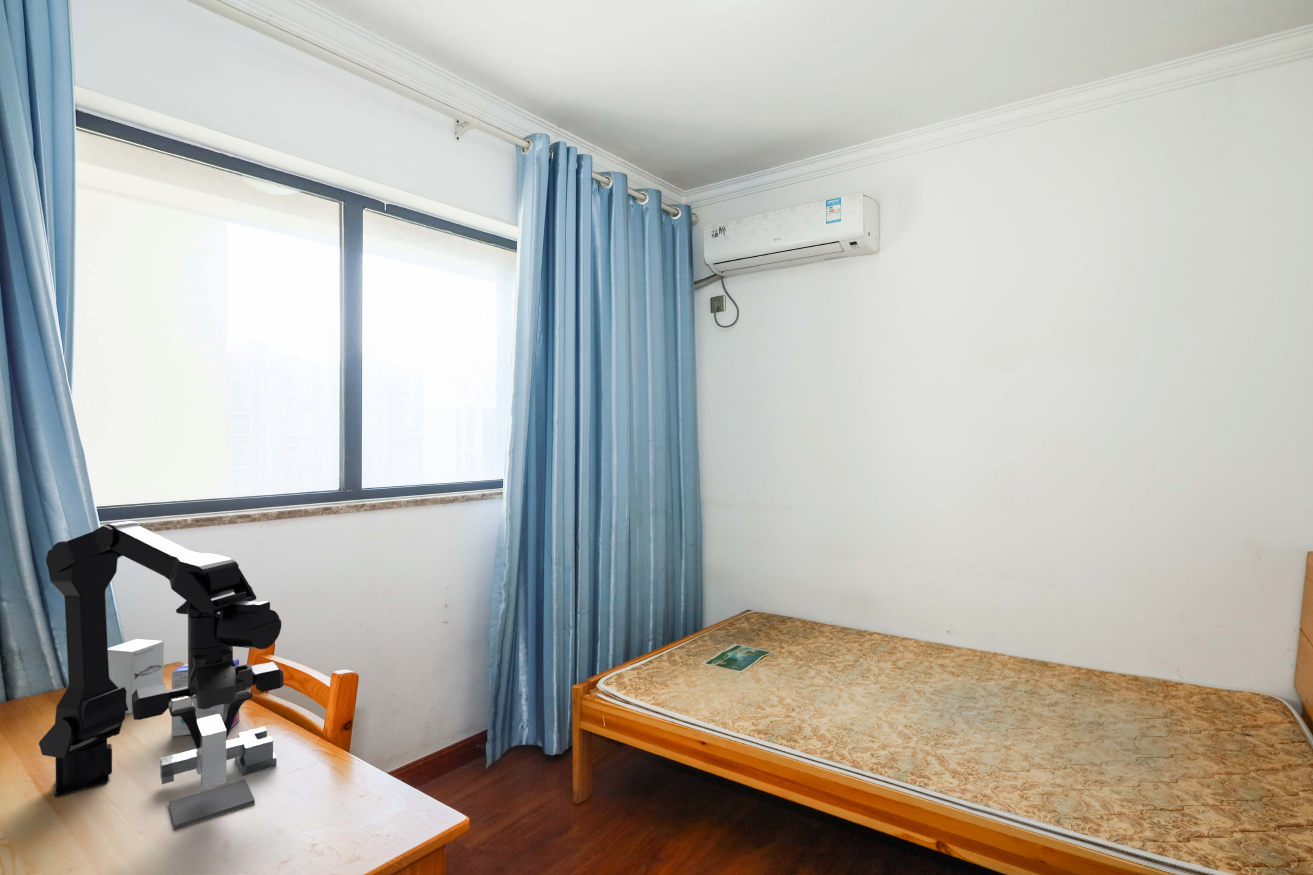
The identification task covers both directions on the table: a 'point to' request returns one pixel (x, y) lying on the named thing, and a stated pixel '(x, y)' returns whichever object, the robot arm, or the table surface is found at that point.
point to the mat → (210, 803)
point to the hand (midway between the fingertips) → (211, 743)
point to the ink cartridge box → (182, 681)
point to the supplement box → (136, 666)
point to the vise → (228, 755)
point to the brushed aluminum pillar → (211, 751)
